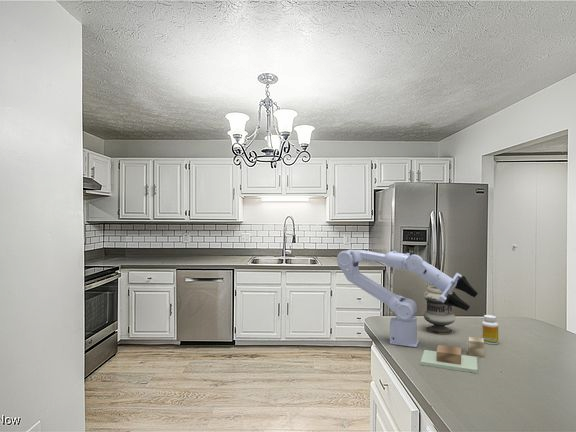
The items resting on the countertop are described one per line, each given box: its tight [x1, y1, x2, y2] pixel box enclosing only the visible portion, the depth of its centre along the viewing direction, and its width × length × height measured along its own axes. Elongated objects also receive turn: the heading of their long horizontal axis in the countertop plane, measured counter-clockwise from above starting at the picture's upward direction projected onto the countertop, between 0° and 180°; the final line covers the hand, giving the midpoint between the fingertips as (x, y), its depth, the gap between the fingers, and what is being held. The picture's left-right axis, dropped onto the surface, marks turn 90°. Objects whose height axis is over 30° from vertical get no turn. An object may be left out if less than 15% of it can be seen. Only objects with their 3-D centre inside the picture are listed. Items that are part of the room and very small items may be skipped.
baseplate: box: [420, 349, 479, 374], centre depth 122 cm, size 16×12×1 cm
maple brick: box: [468, 336, 485, 358], centre depth 129 cm, size 4×4×5 cm
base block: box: [436, 344, 462, 365], centre depth 122 cm, size 7×7×3 cm
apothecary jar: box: [423, 285, 456, 335], centre depth 156 cm, size 12×12×18 cm
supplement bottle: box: [481, 314, 499, 345], centre depth 142 cm, size 5×5×10 cm
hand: (472, 301), depth 131 cm, fingers open, 7 cm apart
